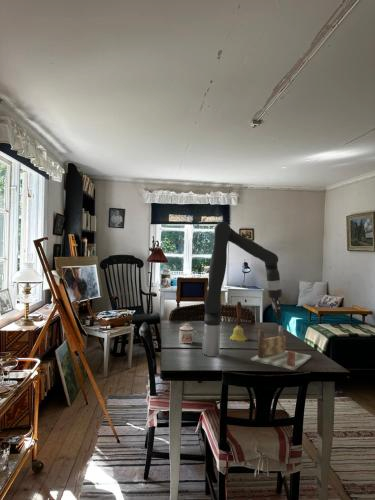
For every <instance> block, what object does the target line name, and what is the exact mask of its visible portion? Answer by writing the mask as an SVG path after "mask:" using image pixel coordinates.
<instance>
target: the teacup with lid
mask: <svg viewBox="0 0 375 500" xmlns="http://www.w3.org/2000/svg"><path fill="white" fill-rule="evenodd" d="M178 331H179V335H178V336H179V339H178V341H180V342H182V343H191V342H193V343H194V340H195V339H197V337H198V335H199V334H198V331H196V330H194V328H193V327H192V326H190V325H189V324H188V323H184V325H183V326H180V327H179V329H178ZM194 333H195V336H194ZM193 339H194V340H193ZM180 342H179V343H180ZM191 344H192V343H191Z"/></svg>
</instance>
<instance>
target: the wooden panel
mask: <svg viewBox="0 0 375 500" xmlns="http://www.w3.org/2000/svg"><path fill="white" fill-rule="evenodd" d="M286 339H287V338H286V335H284V326H283V325H278V335H277V336H273V337H267V338H265V337H264V354H263V356H267V355H272V354H277V353H282V352H285V350H286Z"/></svg>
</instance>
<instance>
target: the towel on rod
mask: <svg viewBox="0 0 375 500" xmlns="http://www.w3.org/2000/svg"><path fill="white" fill-rule="evenodd" d="M264 339H265V330H264V329H262V328H261V329H260V328H258V340H257V343H258V344H257V354H256V355H255V356H252V357H251V358H250V361H253V362H257V363H261V364H266V365H268V366H269V365H270V366H273V367H274V366H275V367H279V368H283V369H287V370H293V371H296V370H297V369H298V368H299V367H301V366H302V365H304V363H306V362H307V361H308V360H310V359H311V358H312V355H311V354H305V353H300V352H296V351H294V350H293V351H292V350H286V349H285V352H282V353H277V354H272V355H267V356H263V354H264Z"/></svg>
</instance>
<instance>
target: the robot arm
mask: <svg viewBox="0 0 375 500" xmlns="http://www.w3.org/2000/svg"><path fill="white" fill-rule="evenodd" d="M213 232H214V242H213V248H212V252H211V256H210V261H209V262H210V263H209V268H208V286H207V287H208V288H207V292H206V296H205V300H204V319H203V322H204V323H203V324H204V325H203V336H202V342H201V343H202V344H201V354H202V353H203V354H202V355H204V354H205V355H204V356H206V355H207V356H206V357H212V356H214V357H218V356H220V355H221V354H220V353H221V351H220V348H221V322H222V321H221V318H222V301H221V300H222V299H221V296H222V289H223V288H222V287H223V283H224V280H225V275H226V271H227V261H228V260H227V259H228V258H227V257H228V256H227V255H228V253H227V249H228V244H229V242H230V243H231V244H234V245H235V246H237V247H239V248H240V249H242V250H243V251H245V252H246V253H248V254H249V255H251V256H253V257H254V258H256V259H259V260H260V261H262V262H263V263H264V268H265V270H266V273H265V274H266V281H267V284H266V286H267V287H266V288H267V296H268V298H270V299H271V303H272V305H271V306H272V310H273V316H274V317H276V319H277V320H282V314H281V313H282V306H281V300H280V299H279V298H282V297H283V290H282V283H281V277H280V272H279V269H278V263H279V256H278V255H277V254H276V253H275V252H273V251H272V250H271V251H270V250H268V249H267V248H264V247H263V246H262V245H260V244H259V243H257V242H255V241H253V240H251V239H249V238H247V237H245V236H243V235H241V234H240V233H238V232H236V231H235V230H234V229H233V228H231V226H230V224H229V223H228V222H226V221H220V222H218V223H217V224H215V226H214V230H213Z"/></svg>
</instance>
